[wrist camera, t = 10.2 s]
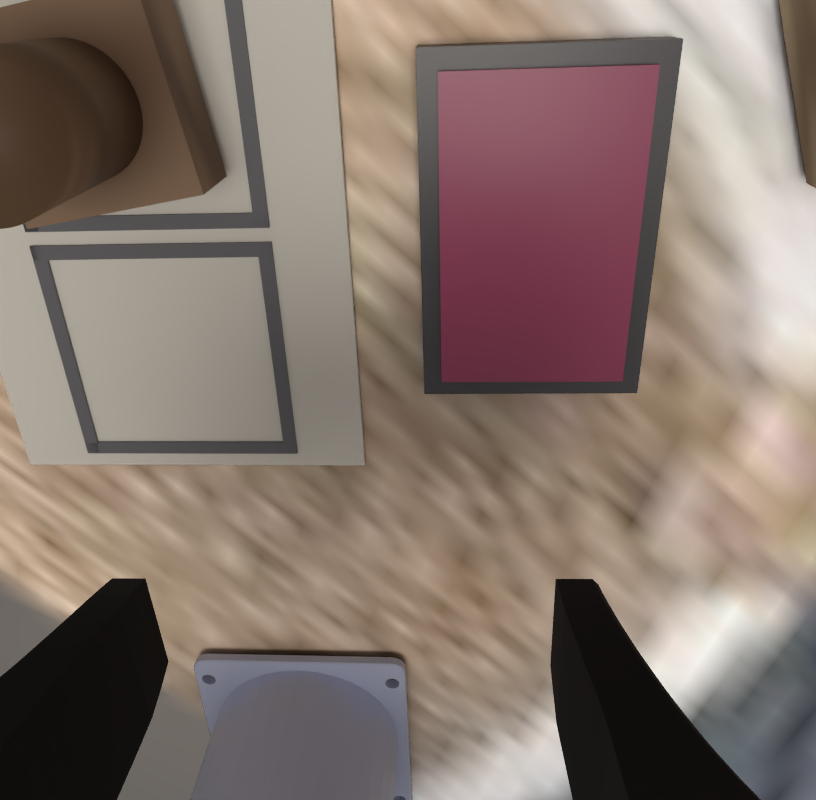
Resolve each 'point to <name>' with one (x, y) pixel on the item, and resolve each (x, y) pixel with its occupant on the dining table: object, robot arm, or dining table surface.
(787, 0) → the oak stamp
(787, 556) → the dining table surface
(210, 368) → the sheet
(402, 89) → the dining table surface
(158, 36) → the walnut stamp
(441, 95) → the ink pad
